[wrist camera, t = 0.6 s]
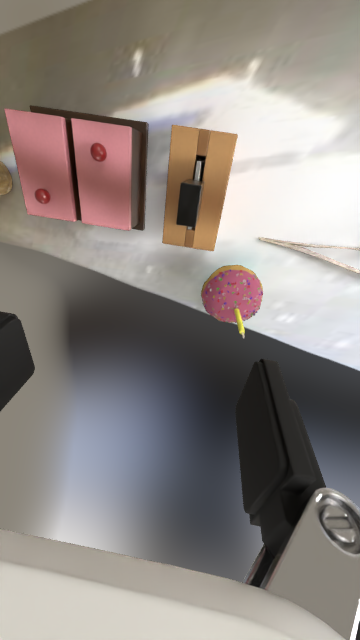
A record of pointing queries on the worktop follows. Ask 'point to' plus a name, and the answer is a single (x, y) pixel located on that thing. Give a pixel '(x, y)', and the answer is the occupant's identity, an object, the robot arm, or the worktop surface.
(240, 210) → the worktop surface
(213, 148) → the knife block
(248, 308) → the cupcake
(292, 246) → the tweezers
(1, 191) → the sprinkles bottle
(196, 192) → the knife
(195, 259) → the worktop surface
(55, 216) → the pink double-door cabinet
